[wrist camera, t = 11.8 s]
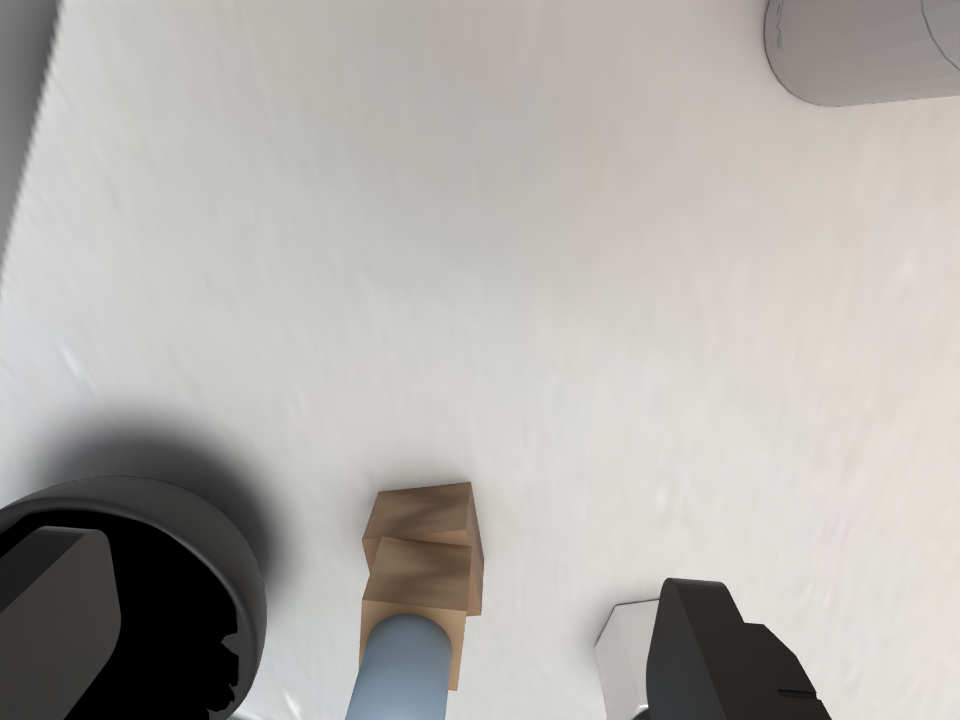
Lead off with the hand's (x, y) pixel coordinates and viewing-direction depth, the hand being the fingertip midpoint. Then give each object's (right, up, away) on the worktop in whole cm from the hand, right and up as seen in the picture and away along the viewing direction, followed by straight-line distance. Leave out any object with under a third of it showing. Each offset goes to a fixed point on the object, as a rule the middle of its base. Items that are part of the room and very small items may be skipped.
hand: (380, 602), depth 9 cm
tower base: (-2, -9, +39) cm, 40 cm away
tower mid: (-2, -11, +33) cm, 35 cm away
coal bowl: (-22, -11, +40) cm, 47 cm away
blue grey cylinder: (-3, -13, +27) cm, 31 cm away
